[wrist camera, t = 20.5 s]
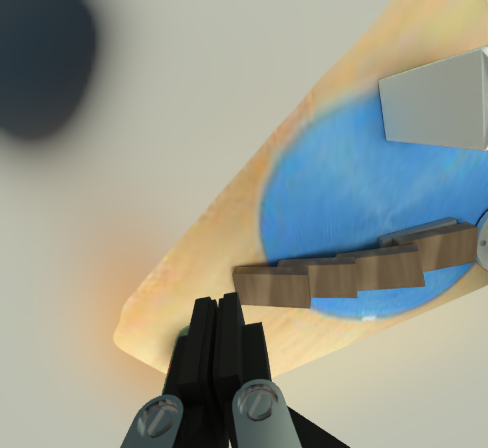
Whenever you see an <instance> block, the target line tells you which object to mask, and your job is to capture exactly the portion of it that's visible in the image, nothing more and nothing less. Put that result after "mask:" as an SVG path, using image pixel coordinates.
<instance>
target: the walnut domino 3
mask: <svg viewBox="0 0 488 448" xmlns="http://www.w3.org/2000/svg"><path fill="white" fill-rule="evenodd" d="M335 257H354V258H355V264H356V280H357V291H364V290H379V289H394V288H409V287H423V286H425V281H424V276H423V271H422V265H421V260H420V255H419V250H418V247H417V244H410V245H402V246H395V247H387V248H379V249H371V250H364V251H356V252H348V253H340V254H336V255H335Z"/></svg>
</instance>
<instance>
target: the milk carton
mask: <svg viewBox="0 0 488 448" xmlns="http://www.w3.org/2000/svg"><path fill="white" fill-rule="evenodd" d="M378 83H379V90H380V98H381V105H382V113H383V120H384V127H385V135H386V140H387V141H395V142H405V143H414V144H424V145H433V146H443V147H452V148H462V149H471V150H481V151H486V150H488V45H486V46H483V47H480V48H476V49H473V50H470V51H467V52H464V53H461V54H457V55H454V56H451V57H448V58H445V59H441V60H438V61H435V62H432V63H429V64H426V65H423V66H420V67H417V68H414V69H411V70H407V71H404V72H401V73H398V74H395V75H392V76H389V77H386V78H383V79H380V80H379V81H378Z"/></svg>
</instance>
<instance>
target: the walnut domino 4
mask: <svg viewBox="0 0 488 448" xmlns="http://www.w3.org/2000/svg"><path fill="white" fill-rule="evenodd" d="M477 243H478V227H477V226H475V225H473V224H470V223H468V222H464V223H459V224H454V225H449V226H445V227H440V228H435V229H430V230H425V231H421V232H416V233H411V234H406V235H402V236H397V237H392V247H395V246H402V245H410V244H417V247H418V250H419V255H420V260H421V265H422V271H423V272H427V271H432V270H437V269H442V268H447V267H452V266H457V265H462V264H467V263H472V262H476V260H477Z"/></svg>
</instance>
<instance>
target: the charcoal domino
mask: <svg viewBox="0 0 488 448" xmlns="http://www.w3.org/2000/svg"><path fill="white" fill-rule="evenodd" d="M454 224H457V220H455V219H453V218H451V217H448V218H444V219H441V220H437V221H434V222H430V223H426V224H423V225H419V226H416V227H412V228H408V229H405V230H401V231H398V232H394V233H391V234H387V235H383V236H380V237H378V243H379V248H387V247H392V237H397V236H402V235H406V234H411V233H416V232H421V231H425V230H430V229H435V228H440V227H445V226H449V225H454Z"/></svg>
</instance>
